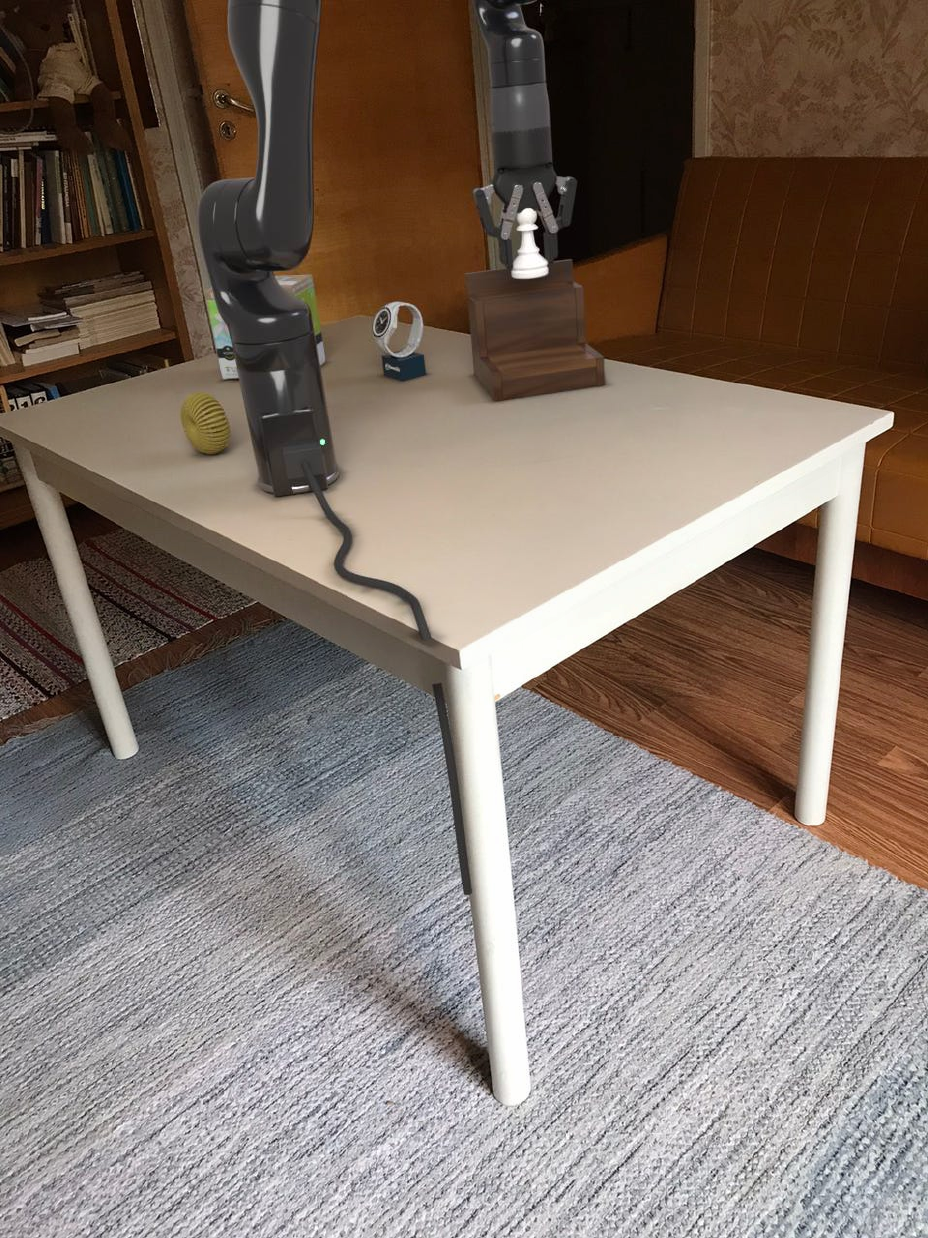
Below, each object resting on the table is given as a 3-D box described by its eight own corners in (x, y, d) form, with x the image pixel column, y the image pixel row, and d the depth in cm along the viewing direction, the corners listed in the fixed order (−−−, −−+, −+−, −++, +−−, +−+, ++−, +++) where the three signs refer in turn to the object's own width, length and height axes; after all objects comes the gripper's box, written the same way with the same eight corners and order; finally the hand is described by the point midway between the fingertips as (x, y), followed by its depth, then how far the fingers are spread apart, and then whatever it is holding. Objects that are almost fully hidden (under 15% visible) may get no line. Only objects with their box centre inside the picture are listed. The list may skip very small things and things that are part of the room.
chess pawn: (505, 279, 135) (500, 207, 131) (520, 271, 139) (515, 202, 135) (540, 278, 133) (536, 206, 129) (554, 271, 137) (550, 200, 133)
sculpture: (241, 453, 131) (228, 393, 127) (214, 463, 129) (200, 402, 125) (209, 443, 136) (196, 385, 132) (183, 452, 134) (168, 393, 130)
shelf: (605, 384, 142) (601, 274, 135) (494, 401, 140) (485, 290, 133) (575, 360, 155) (571, 258, 148) (474, 375, 153) (464, 273, 146)
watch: (373, 378, 158) (363, 306, 152) (415, 366, 162) (407, 296, 156) (392, 384, 154) (382, 310, 148) (435, 371, 157) (427, 299, 152)
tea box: (221, 381, 165) (201, 288, 158) (246, 365, 174) (229, 276, 167) (305, 379, 161) (289, 283, 154) (328, 362, 170) (313, 271, 163)
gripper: (470, 133, 123) (483, 276, 132) (583, 119, 125) (589, 262, 133) (459, 131, 130) (472, 267, 138) (567, 117, 132) (573, 254, 140)
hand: (529, 264), depth 136 cm, fingers closed on chess pawn, 5 cm apart
